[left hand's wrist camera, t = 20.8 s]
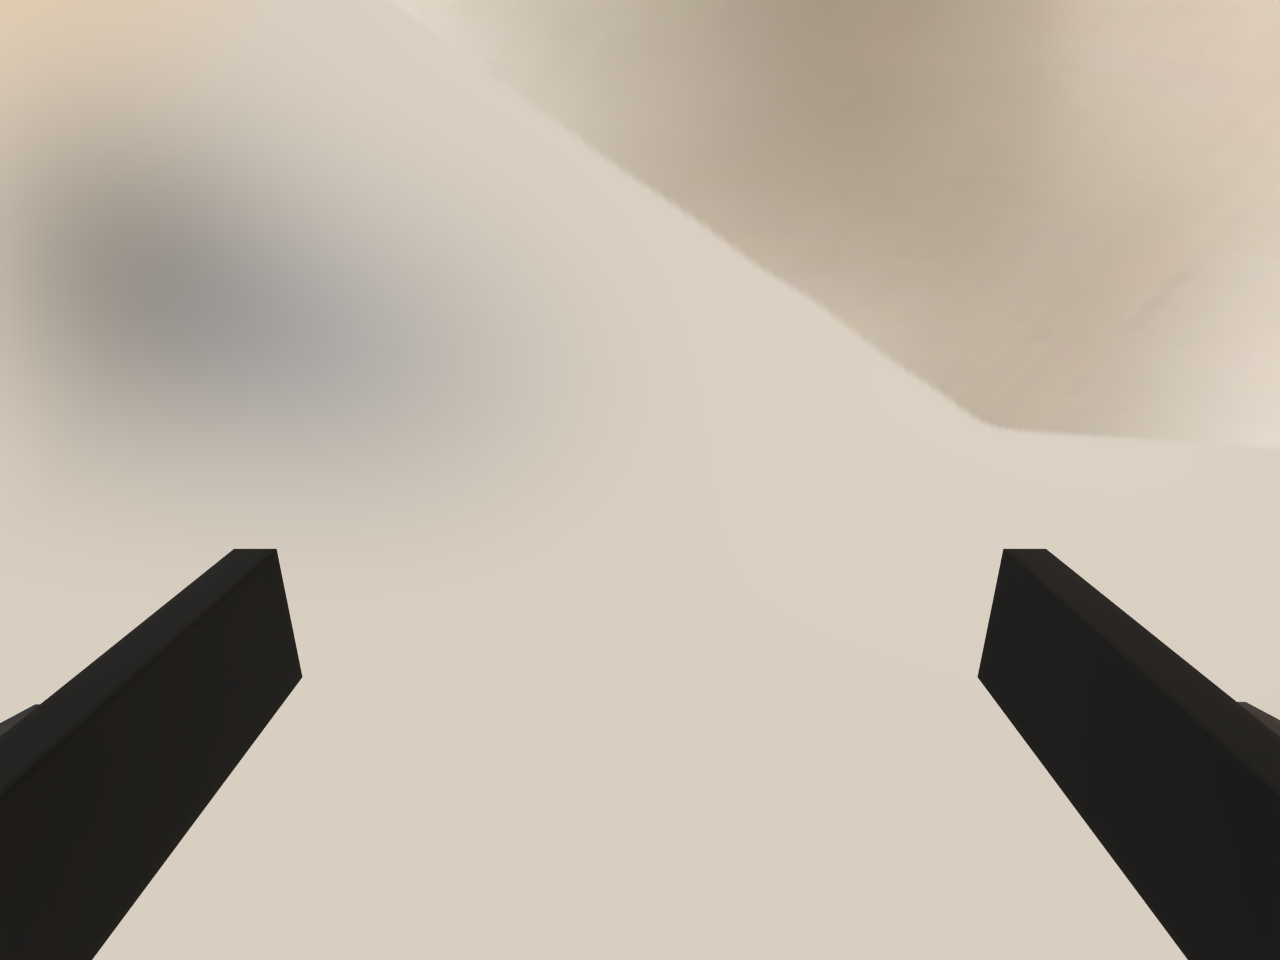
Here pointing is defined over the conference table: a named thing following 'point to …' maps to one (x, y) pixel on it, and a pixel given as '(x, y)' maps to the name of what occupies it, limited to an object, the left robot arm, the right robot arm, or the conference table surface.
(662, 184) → the conference table surface
